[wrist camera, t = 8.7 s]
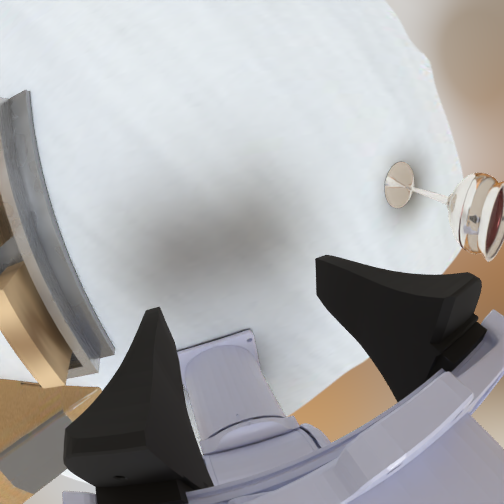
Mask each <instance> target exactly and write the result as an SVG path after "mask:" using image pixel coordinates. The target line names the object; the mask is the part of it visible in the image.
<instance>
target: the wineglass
mask: <svg viewBox="0 0 504 504" xmlns="http://www.w3.org/2000/svg"><path fill="white" fill-rule="evenodd" d="M413 192H416V193H418V194H421V195H423V196H426V197H428V198H431V199H433V200H436V201H438V202H441V203H443V204H445V205H447V209H448V218H449V223H450V226H451V229H452V232H453V235H454V238H455V240H456V241H457V242H458V244H459V245H460V246H461V247H462V248H464V249H465V250H467V251H468V252H470V253H473V254H479V253H482V255H483V256H484V258H485V259H486V260H487V261H488V262H489V261H491V260H492V259H493V258H494V257H495V256H496V255H497V253H498V251H499V249H500V248H501V246H502V243H503V241H504V181H502V182H498V181H497V180H496V179H495V178H494V177H492V176H490V175H488V174H485V173H474V174H471V175H469V176H467V177H466V178H464V179H463V180H462V181H461V182H460V183H458V185H457V186H456V187H455V189H454V191H453V193H452V194H450V195H449V196H444V195H441V194H437V193H434V192H430V191H427V190H423V189H419V188H415V187H414V175H413V171H412V169H411V168H410V166H409V165H408V164H407V163H405V162H398V163H396V164H395V165H394V166H392V167H391V169H390V171H389V172H388V175H387V178H386V182H385V195H386V199H387V201H388V203H389V204H390V206H392V207H394V208H401V207H403V206H404V205H405V204H406V203H407V202H408V201H409V199H410V198H411V196H412V193H413Z"/></svg>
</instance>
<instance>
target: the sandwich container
mask: <svg viewBox="0 0 504 504" xmlns="http://www.w3.org/2000/svg"><path fill="white" fill-rule="evenodd" d="M28 383H29V384H28ZM101 392H102V390H101V388H99V387H79V386H58V387H51V388H44V389H43V388H42V386H41V385H40V384H39V383H32V382H23V381H15V380H6V379H0V504H23V503H24V502H25V501H26V500H28V499H29V498H30V497H31V496H33V495H34V494H35V493H36V492H38V491H39V490H40V489H41V488H43V487H44V486H45V485H47V484H48V483H49V482H50V481H52V480H53V479H55V478H56V477H57V476H58V475H60V474H61V473H62V472H63V471H65V470H66V469H67V467H66V466H65V465H64V462H63V451H64V435H65V428H66V427H67V426H69V425H70V424H71V423H72V422H73V421H74V420H75V419H77V418H78V417H79V416H80V415H81V414H82V413H83V412H84V411H85V410H86V409H87V408H88V407H89V406H90V405H91V404H92V403H93V402H94V401H95V399H96V398H97V397H98V396H99V395H100V394H101Z"/></svg>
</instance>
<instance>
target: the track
mask: <svg viewBox="0 0 504 504" xmlns="http://www.w3.org/2000/svg"><path fill="white" fill-rule="evenodd" d="M22 261H24V263H25V265H26V267H27V270H28V272H29V274H30V276H31V278H32V281H33V283H34V285H35V287H36V289H37V291H38V293H39V295H40V297H41V299H42V301H43V303H44V305H45V306H46V308H47V310H48V312H49V314H50V315H51V317H52V319H53V321H54V322H55V324H56V326H57V328H58V329H59V331H60V332H61V334H62V336H63V337H64V339H65V341H66V342H67V344H68V345H69V347H70V348H71V350H72V355H71V360H70V364H69V369H68V374H67V379H68V378H73V377H79V376H84V375H89V374H94V373H99V363H100V358H103V357H107V356H111V355H114V354H115V348H114V346H113V345H112V343H111V341H110V340H109V338H108V336H107V334H106V333H105V331H104V329H103V327H102V325H101V323H100V322H99V320H98V318H97V316H96V314H95V312H94V310H93V308H92V306H91V304H90V302H89V300H88V298H87V296H86V294H85V292H84V290H83V287H82V285H81V283H80V281H79V279H78V276H77V274H76V272H75V269H74V267H73V265H72V262H71V260H70V257H69V255H68V252H67V250H66V247H65V244H64V242H63V239H62V236H61V233H60V231H59V228H58V225H57V222H56V219H55V216H54V212H53V209H52V206H51V203H50V199H49V196H48V192H47V188H46V185H45V181H44V177H43V172H42V168H41V164H40V159H39V154H38V149H37V144H36V138H35V132H34V125H33V118H32V110H31V100H30V91H27V90H24V91H22V92H21V93H19V94H17V95H15V96H13V97H12V98H10V99H6V98H2V97H0V275H1V273H2V272H3V271H4V270H5V269H6V268H7V267H9V266H12V265H14V264H17V263H19V262H22Z"/></svg>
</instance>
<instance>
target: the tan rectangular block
mask: <svg viewBox="0 0 504 504" xmlns="http://www.w3.org/2000/svg"><path fill="white" fill-rule="evenodd" d="M0 330H1V332H2V333H3V335H4V337H5V338H6V340H7V341H8V343H9V344H10V346H11V347H12V349H13V350H14V351H15V353H16V354H17V356H18V357H19V358H20V360H21V361H22V363H23V364H24V365H25V366H26V368H27V369H28V370H29V372H30V373H31V374H32V375H33V377H34V378H35V379H36V380H37V382H38V383H39V384H40V385H41V386H42V388H43V389H44V388H51V387H58V386H64V385H66V379H67V374H68V369H69V364H70V360H71V355H72V350H71V348H70V347H69V345H68V344H67V342H66V341H65V339H64V337H63V336H62V334H61V332H60V331H59V329H58V328H57V326H56V324H55V322H54V321H53V319H52V317H51V315H50V314H49V312H48V310H47V308H46V306H45V305H44V303H43V301H42V299H41V297H40V295H39V293H38V291H37V289H36V287H35V285H34V283H33V281H32V278H31V276H30V274H29V272H28V270H27V267H26V265H25V263H24V261H22V262H19V263H17V264H14V265H12V266H9V267H7V268H6V269H5V270H4V271H3V272H2V273H1V275H0Z"/></svg>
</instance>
